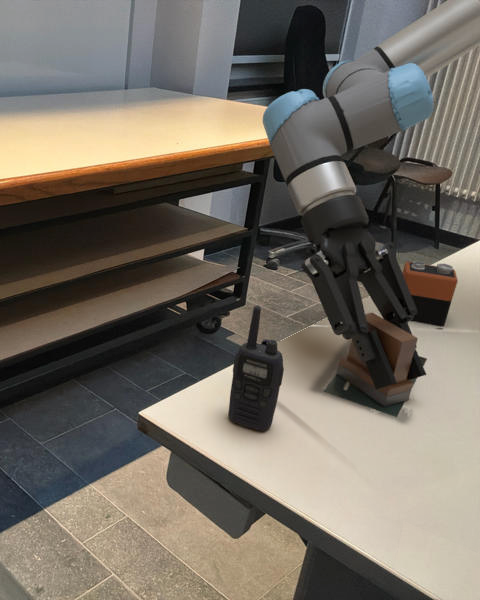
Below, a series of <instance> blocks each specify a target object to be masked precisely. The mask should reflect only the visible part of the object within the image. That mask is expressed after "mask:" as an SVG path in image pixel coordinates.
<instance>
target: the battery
mask: <svg viewBox="0 0 480 600" xmlns="http://www.w3.org/2000/svg"><path fill="white" fill-rule="evenodd" d="M403 266H404V267H403V270H402V274H403V276H404V279H405V281H406V284H407V286H408V289H409V291H410V294H411V296H412V299H413V301H414V303H415V306H416V308H417V314H416V315H413V320H411V321H410V322H414V323H419V324H425V325H430V326H436V327H435V329H436V330H437V329H438V330H444V328H443V327H445V324H446V322H447V318H448V314H449V311H450V309H451V305H452V301H453V298H454V294H455V291H456V288H457V284H458V282H459V281H458V277H457V272H456V270H455V269H454V266H453V265H450V264H447V263H437V265H432V264H426V263H425V262H423V261H419V260H414V261H413V262H412V261H406V262H405V263H404V265H403Z"/></svg>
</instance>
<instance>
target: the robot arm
mask: <svg viewBox="0 0 480 600" xmlns="http://www.w3.org/2000/svg"><path fill="white" fill-rule="evenodd" d="M478 47H480V0H446V1H444V2H443V3H441V4H439V5H438V6H436V7H435V8H434V9H432V10H431V11H429V12H427V13H426V14H424V15H423V16H421V17H420V18H418V19H416V20H415V21H413V22H412V23H410V24H409V25H407V26H405V27H404V28H403V29H400V31H398V32H396V33H395V34H394V35H392V36H391V37H389V38H387V39H386V40H384V41H382V42H381V43H380V44H378V45H377V46H375V47H374V48H372V49H370V50H368V51H367V52H365V53H363V54H362V55H360V56H359V57H358V58H355V59H349V60H348V59H347V60H343V61H341V62H339V63H337V64H335V65H334V66H333V67H332V68H331V69H330V70H329V71H328V73H327V74H326V75H325V78H324V80H323V84H322V95H323V98H322V99H320V97H318V96H317V94H316V93H315V92H314V91H313V90H311V89H307V88H301V89H298V90H297V91H294V90H292V91H289V92H286V93H285V94H282V95H280V96H278V97H277V98H276V99H274V100H273V101H272V102H271V103H270V104H269V105H268V106H267V107H266V108H265V110H264V112H263V115H262V125H263V127H264V130H265V131H264V132H265V135H266V137H267V140H268V143H269V147H270V148H271V151H272V153H273V155H274V159H275V160H276V163H277V165H278V167H279V170H280V172H281V175H282V178H283V180H284V182H285V185H286V187H287V190H288V192H289V195H290V197H291V200H292V202H293V204H294V205H293V206H294V208H295V209H296V212H297V214H298V215H299V216H301V219H300V222H301V225H302V228H303V230H304V232H305V235H306V237H307V238H306V239H307V240H308V242H309V244H311V245H314V254H313V255H312V256H310V257H309V258H307V259H305V260H304V261H302V262H301V264H300V267H301V269H302V270H303V271H304V273H305V275H307V277H308V278H309V280H311V283H312V286H313V288H314V290H315V293H316V294H317V297H318V299H319V301H320V304H321V306H322V309H323V311H324V313H325V317H326V318H327V321H328V322H329V325H330V327H331V330H332V332H333V334H335V335H336V336H341V335H342V337H343V339H344V340H347V341H348V340H353V343H354V345H355V348H356V350H357V353H358V355H359V358H360V360H361V361H362V362H365V363H366V366H367V368H368V371H369V373H370V376H371V378H372V381H373V383H374V386H375V388H376V389H380V388H383V387H386V386H389V385H393V384H396V383H397V381H396V379H395V376H394V374H393V372H392V369H391V367H390V364H389V362H388V359H387V357H386V355H385V352H384V350H383V347H382V345H381V342H380V340H379V338H378V335H377V333H376V330H374V331H370V332H368V333H367V331H368V324H367V320H366V315H365V314H366V312H365V307H364V303H363V298H362V294H361V290H360V285H359V283H361V285H362V286H363V287H364V289H365V291H366V293H367V294H368V296H369V297H370V299H371V301H372V302H373V305H375V307H376V309H377V310H378V312H379V314H380V316H381V318H383V319H385V320H386V321H388V322H390V323H392V324H394V325H395V326H397V327H399V328H401V329H403V330H404V331H406V332H408V333H410V334H411V335H413V333H412V331H411V328H410V326H409V322H412V321H411V320H413V315H416V314H417V308H416V306H415V303H414V301H413V299H412V296H411V294H410V291H409V289H408V286H407V284H406V281H405V279H404V276H403V274H402V273H403V270H402V269H401V265H400V263H399V262H398V258H397V249H396V244H395V243H394V242H393V241H390V240H389V241H387V242H386V243H381V242H377V241H376V240H375V238H374V236H373V235H372V234H371V233H370V232H369V231H368V223H369V215H368V213H367V211H366V209H365V207H364V204H363V202H362V200H361V197H360V196H358V195H356V193H357V187H356V185H355V183H354V180H353V178H352V176H351V174H350V171H349V169H348V167H347V165H346V163H345V160H344V158H343V157H342V155H344V154H346V153H349V152H352V151H354V150H356V149H359V148H362V147H364V146H367V145H370V144H372V143H374V142H377V141H379V140H382V139H385V138H388V137H389V136H393V135H395V134H397V133H400V132H403V131H404V132H405V131H407V130H409V128H412V127H414V126H416V125H418V124H420V123H423V122H424V121H426V120H428V119H429V118H430V117H431V116H432V114H433V113H434V95H433V92H432V89H431V86H430V82H429V80H428V78H429V77H430V76H432V75H434V74H436V73H437V72H439V71H441V70H442V69H444V68H445V67H447V66H449V65H450V64H452V63H453V62H455V61H457V60H459V59H460V58H461V57H463V56H465V55H466V54H468V53H469V52H472V51H473V50H475V49H476V48H478ZM417 348H418V347H417V345H416V347H415V350H414V354H413V357H412V361H411V364H410V368H409V372H408V375H407V379H409V380H411V379H415V378H417V379H418V378H420V377H424V376H427V372H426V370H425V368H424V366H423V365H422V363H421V360H420V358H419V356H420V355H419V353H418V352H417Z"/></svg>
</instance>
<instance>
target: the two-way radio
mask: <svg viewBox="0 0 480 600" xmlns="http://www.w3.org/2000/svg"><path fill="white" fill-rule="evenodd" d="M261 310H262V307H261V306H260V305H255V306H253V310H252V315H251V320H250V324H249V331H248V335H247V336H248V337H247V342H244V343H243V344H241V346H240V347H239V349H238V351H237V353H236V354H235V356H234V360H233V361H234V362H233V367H232V380H231V386H230V393H229V403H228V412H227V415H228V419H229V420H230V421H231V422H233V423H235V424H238V425H240V426H243V427H247V428H249V429H251V430H252V429H253V430H255V431H258V432H259V431H260V432H265V431H268V430H269V429H270V428H271V427H272V424H273V421H274V416H275V412H276V408H277V403H278V398H279V393H280V388H281V386H282V382H283V377H284V371H285V367H284V357H283V353H282V352H281V351H279V350H278V349H279V348H278V342H277V341H276V340H274V339H266V338H265V339H263V340H262V341H261V343H259V342H258V335H259V329H260V320H261V313H262V312H261ZM257 342H258V343H257Z"/></svg>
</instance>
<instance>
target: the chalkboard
mask: <svg viewBox="0 0 480 600" xmlns="http://www.w3.org/2000/svg"><path fill="white" fill-rule="evenodd" d="M418 356H419V358H420V360H421V363H422V365H423V367H424V366H425V364H426V362H427V361H428V358H426V357H423V356H420V355H418ZM417 379H418V378H415V379H411V380H410V381H412V382H413V386H412V388H414V385H415V383H416V382H417ZM323 393H325V394H329V395H332V396H334V397H338V398H340V399H343V400H346V401H348V402H352V403H354V404H357V405H360V406H363V407H366V408H369V409H372V410H374V411H377V412H381V413H382V414H385V415H389V416H392V417H394V418H398V416H399V414H400V412H401V410H402V409H403V407H404V405H405V402H406V401H403V402H399V403H396V404H393V405H389V406H386V407H384V406H382V405H381V404H379V403H378V402H377V401H375V400H374V399H372V398H371V397H369V396H368V395H367V394H365V393H364V392H362V391H361V390H359V389H358V388H357V387H355V386H354V385H352V384H351V383H349V382H348V381H346V380H345V379H344V378H342V377H341V376H339V375H338V374H337V373H335V375H334V376H333V377H332V379H331V380H330V382H329V383H328V384H327V386H326V387H325V388H324V390H323Z"/></svg>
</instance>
